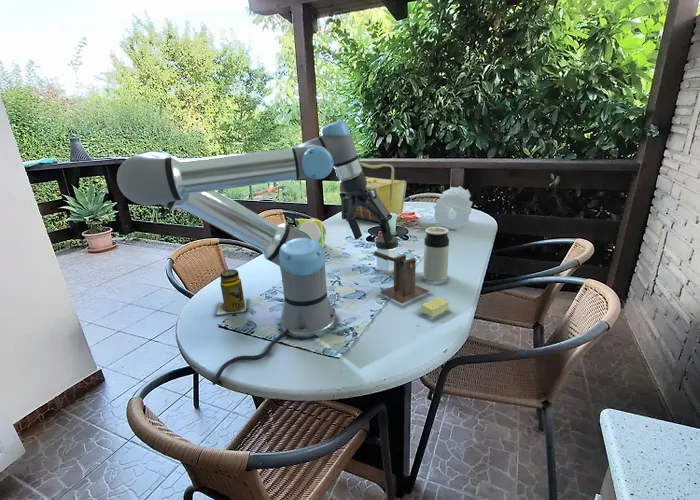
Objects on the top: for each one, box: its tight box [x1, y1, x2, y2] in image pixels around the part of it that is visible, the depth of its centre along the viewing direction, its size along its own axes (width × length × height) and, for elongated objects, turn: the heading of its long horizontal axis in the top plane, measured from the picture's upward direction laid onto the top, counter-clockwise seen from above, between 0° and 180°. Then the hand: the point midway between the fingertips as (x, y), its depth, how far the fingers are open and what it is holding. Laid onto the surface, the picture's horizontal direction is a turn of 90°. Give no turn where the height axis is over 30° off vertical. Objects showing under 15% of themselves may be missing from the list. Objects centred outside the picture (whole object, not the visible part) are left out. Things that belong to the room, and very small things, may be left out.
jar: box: [374, 235, 399, 272], centre depth 134 cm, size 9×8×12 cm
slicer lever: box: [372, 250, 407, 267], centre depth 109 cm, size 13×5×2 cm, turn 127°
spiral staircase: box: [433, 185, 474, 230], centre depth 185 cm, size 18×18×25 cm
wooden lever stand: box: [379, 253, 430, 305], centre depth 114 cm, size 12×10×13 cm
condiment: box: [216, 268, 247, 316], centre depth 111 cm, size 7×8×12 cm
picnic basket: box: [338, 162, 407, 223], centre depth 202 cm, size 29×26×30 cm
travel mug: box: [422, 226, 450, 283], centre depth 123 cm, size 8×8×18 cm
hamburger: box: [298, 217, 327, 248], centre depth 165 cm, size 12×8×12 cm
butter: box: [420, 296, 450, 318], centre depth 104 cm, size 7×4×4 cm, turn 128°
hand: (373, 239), depth 114 cm, fingers open, 13 cm apart
